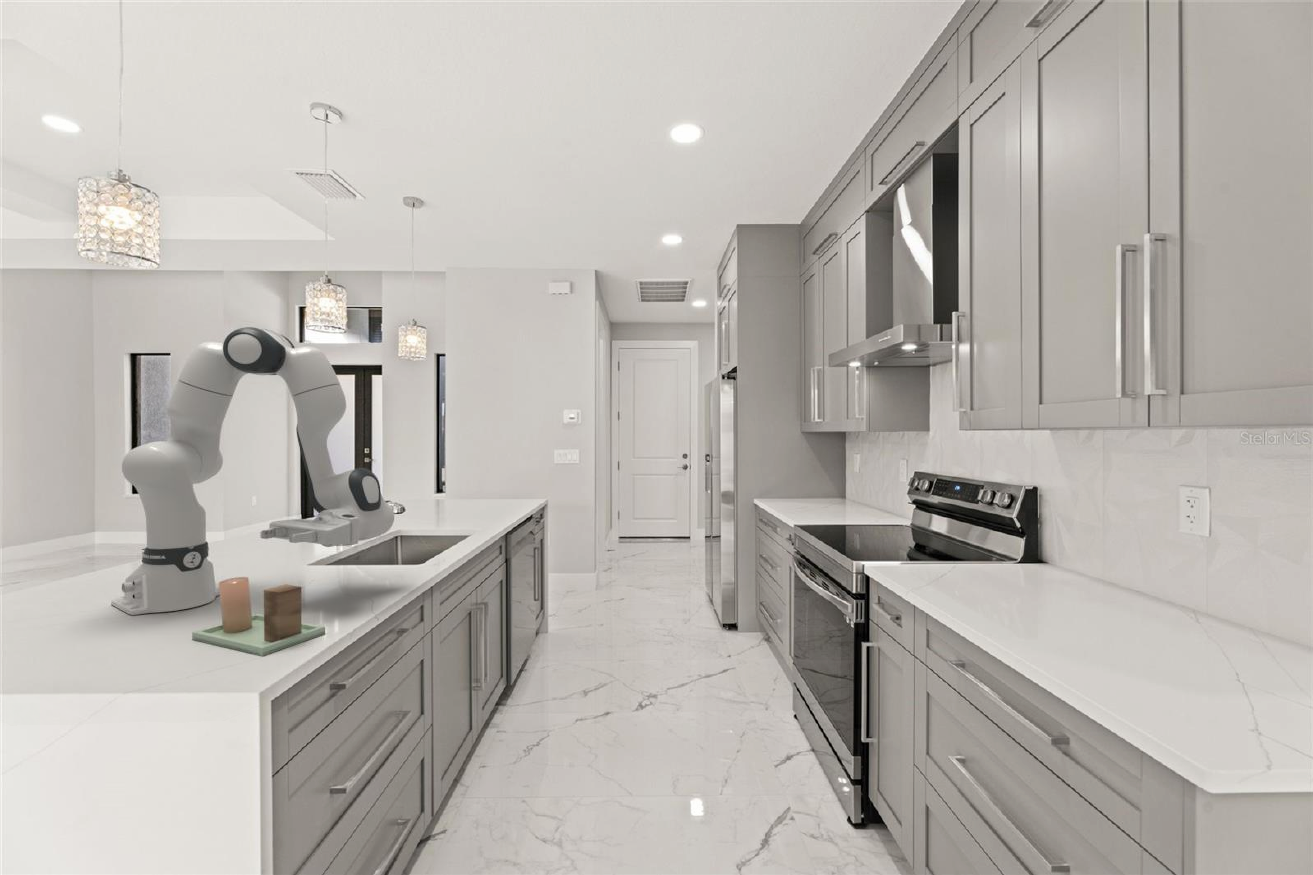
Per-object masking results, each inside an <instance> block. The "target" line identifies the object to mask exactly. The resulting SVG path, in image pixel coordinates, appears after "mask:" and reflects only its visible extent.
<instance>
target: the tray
mask: <svg viewBox="0 0 1313 875" xmlns="http://www.w3.org/2000/svg"><path fill="white" fill-rule="evenodd" d="M301 622H302V633H300V634H297V635H294V636H291V637H288V638H285V639H282V640H279V641H276V642H273V643H272V642H267V641H264V613H263V614H262V613H255V614H254V613H253V614H252V627H250V628H249V629H246V630H243V631H240V632H235V633H225V632H223V624H222V623H220V624H216V625H211V626H209V627H206V628H203V629H202V628H201V629H199V630H195V631H193V632H191V638H192V639H191V640H192V641H195V642H201V643H206V644H209V645H214V646H217V647H223V648H227V649H231V650H233V651H234V650H235V651H238V652H239V651H240V652H243V653H246V654H252V655H256V656H260V657H264V656H267V655H269V654H273V653H276V652H279V651H280V650H285V649H286V648H289V647H293V646H296V645H298V644H300V643H303V642H307V641H309V640H313V639H316V638H317V637H320V636H323V635H324V636H325V635H326V626H325V625H324V626H323V625H317V624H314V623H308V622H303V621H301Z"/></svg>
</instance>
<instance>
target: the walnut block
mask: <svg viewBox="0 0 1313 875" xmlns="http://www.w3.org/2000/svg"><path fill="white" fill-rule="evenodd" d="M263 615H264V641H267V642H272V643H273V642H276V641H279V640H282V639H285V638H288V637H291V636H294V635H297V634H300V633H302V622H303V621H302V587H301V586H299V585H298V586H297V585H293V584H292V585H291V584H282V585H278V586H274V587H271V588H267V589H264V590H263Z"/></svg>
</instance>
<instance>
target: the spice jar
mask: <svg viewBox="0 0 1313 875" xmlns="http://www.w3.org/2000/svg"><path fill="white" fill-rule="evenodd" d="M218 590H219V592H220V595H219V601H220V612H221V622H222V623H221V624H223V632H225V633H235V632H240V631H243V630H246V629H249V628H250V627H252V615H253V614H252V604H251V593H250V592H251V591H250V581H249V577H248V576H238V577H230V578H227V579H223V580H221V581H219V582H218Z"/></svg>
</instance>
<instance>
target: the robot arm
mask: <svg viewBox="0 0 1313 875" xmlns="http://www.w3.org/2000/svg"><path fill="white" fill-rule="evenodd" d="M247 374H251V375H257V376H277V375H278V376H279V377H280V378H282V379H283V381H284V382H285V384H286V386H287V388H288V390H289V393H290V394H291V395H290V396H291V398H292V401H293V403H294V407H295V412H296V417H297V419H296V420H297V422H296V423H297V424H296V431H295V432H296V438H297V442H298V446H299V450H300V453H301V454H300V455H301V458H302V462H303V465H304V470H305V472H306V477H307V483H308V498H309V502H310V504H311V507H313V509H314V510H315V512H317V513H318V514H317V515H316V517H314V519H307V518H306V519H305V518H296V519H295V518H294V519H293V518H292V519H291V518H290V519H282V520H275V521H271V522H270V523H269V528H268V529H262V530H261V531H260V533H259V534H260V538H261V539H263V540H268V539H273V538H274V539H279V540H280V539H281V540H287V541H288V542H289V543H293V544H297V543H310V544H316V545H317V544H318V545H321V546H323V547H325V548H330V547H338V546H339V547H340V546H353V545H358V544H359V542H361V541H362V542H363V541H367V540H370V539H374V538H378V537H380V536H382V535H384V534H387V533H388V532H389V531H390V530H391V528H392V527H393V524H394V521H395V512H394V510H393V508H392V506H390V504H388V503H387V502H386V500H385V499H384V497H383V494H382V493H381V491H382V490H381V485H380V480H379V479H378V476H376V474H375V473H374V472H373V471H371V470H369V469H368V468H365V467H358V468H353V469H351V470H347V471H343V472H342V473H339V474H336V472H335V471H334V468H333V464H332V461H331V456H330V453H329V449H328V437H329V435H330V433H331V432H332V430H333V429H334V427H336V425H337V424H338V423H339V422H340V421H341V419H342V418H343V416H344V414H345V413H346V410H347V400H346V395H345V393H344V390H343V388H342V385H341V384H340V380H339V378H338V375H337V374H336V371H335V369H334V368H333V366H332V364H331V362H330V361H329V359H328V358H327V356H326V354H325V353H324V352H323V350H321V349H320V348H318V347H314V346H300V347H295V346H294V344H293V343H292V342H291V340H289V339H288V338H287V337H286V336H285V335H283V334H280V333H277V332H275V331H272V330H269V329H267V328H266V329H264V328H258V327H252V326H250V327H249V326H245V327H239V328H237V329H235V330H233V331H231V332H230V333H229V334H228V335H227V336H226V337H225V339H224V341H223V343H222V342H217V341H207V342H205V341H204V342H201V343H200V344H198V345H196V347H195V348H194V350H193V351H192V353H191V354H190V356H189V357H188V359H187V360H186V362H185V364H184V365H183V367H182V369H181V371H180V374H179V376H178V378H177V381H176V384H175V386H174V390H173V392H172V394H171V397H170V399H169V401H168V404H167V407H166V414H167V417H168V418H169V420H170V429H169V436H168V438H167V440H162V441H161V440H159V441H152V442H148V443H145V444H142V445H141V444H140V445H139V446H136V447H134V448H132V449H130V450H129V451H128V452H127V453H125V456H124V457H123V459H122V462H121V472H122V474H123V477H124V478H125V480H126V481H128V483H129V484H131V485H132V486H134V488H135V490H136V491H137V493H138V496H139V498H140V501H141V503H142V506H143V510H144V514H145V523H146V524H145V526H146V528H145V529H146V547H144V548H142V549H141V551H143V552H141V554H142V559H141V564H140V565H139V566H138V567H137V568H136V569H135V570H134V571H133V572H132V573H131V574H130V575H129V576H127V578H125V579H124V580H125V581H124V582H123V583H122V584H121V590H122V593H124V596H120V597H117V598H115V599H112V600H111V606H113V607H116V608H117V609H118V610H121V611H123V612H124V613H127V614H128V615H131V616H133V615H143V614H151V613H166V612H172V611H173V612H175V611H180V610H187V609H191V608H196V607H199V606H204V605H206V604H209V603H211V602H213V601H215V600H216V597H218V596H220V592H219V588H218V589H217V588H216V582H215V581H216V580H215V572H214V571H215V570H214V564H213V562H211V561H210V560H208V558H209V549H210V548H209V543H208V541H207V534H206V533H207V525H206V524H207V521H206V520H207V519H206V518H207V517H206V515H207V514H206V512H207V511H206V510H205V508H204V506H203V505H201V504H200V503H199V501H198V499H197V497H196V494H195V489H194V485H196V484H200V483H203V482H206V481H208V480H209V479H211V478H213V477H214V476H216V475H217V474H218V473H219V472H220V471H221V469H222V467H223V463H224V461H223V454H222V453H221V451H220V443H221V434H222V428H223V423H224V422H225V421H224V420H225V418H226V415H227V412H228V410H229V407H230V404H231V401H232V399H233V396H234V394H235V391H236V388H237V386H238V385H239V382H240V380H241V379H242V378H243V377H244V376H246V375H247Z"/></svg>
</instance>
